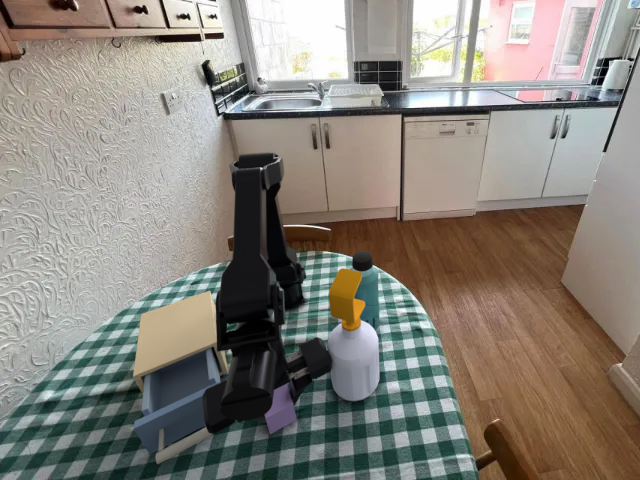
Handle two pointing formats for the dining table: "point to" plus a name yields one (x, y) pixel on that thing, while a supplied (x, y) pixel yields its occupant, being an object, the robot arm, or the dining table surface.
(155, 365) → the drawer cabinet
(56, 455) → the dining table surface
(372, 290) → the beverage bottle
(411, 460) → the dining table surface
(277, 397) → the purple cube
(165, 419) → the blue drawer
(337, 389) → the spray bottle
